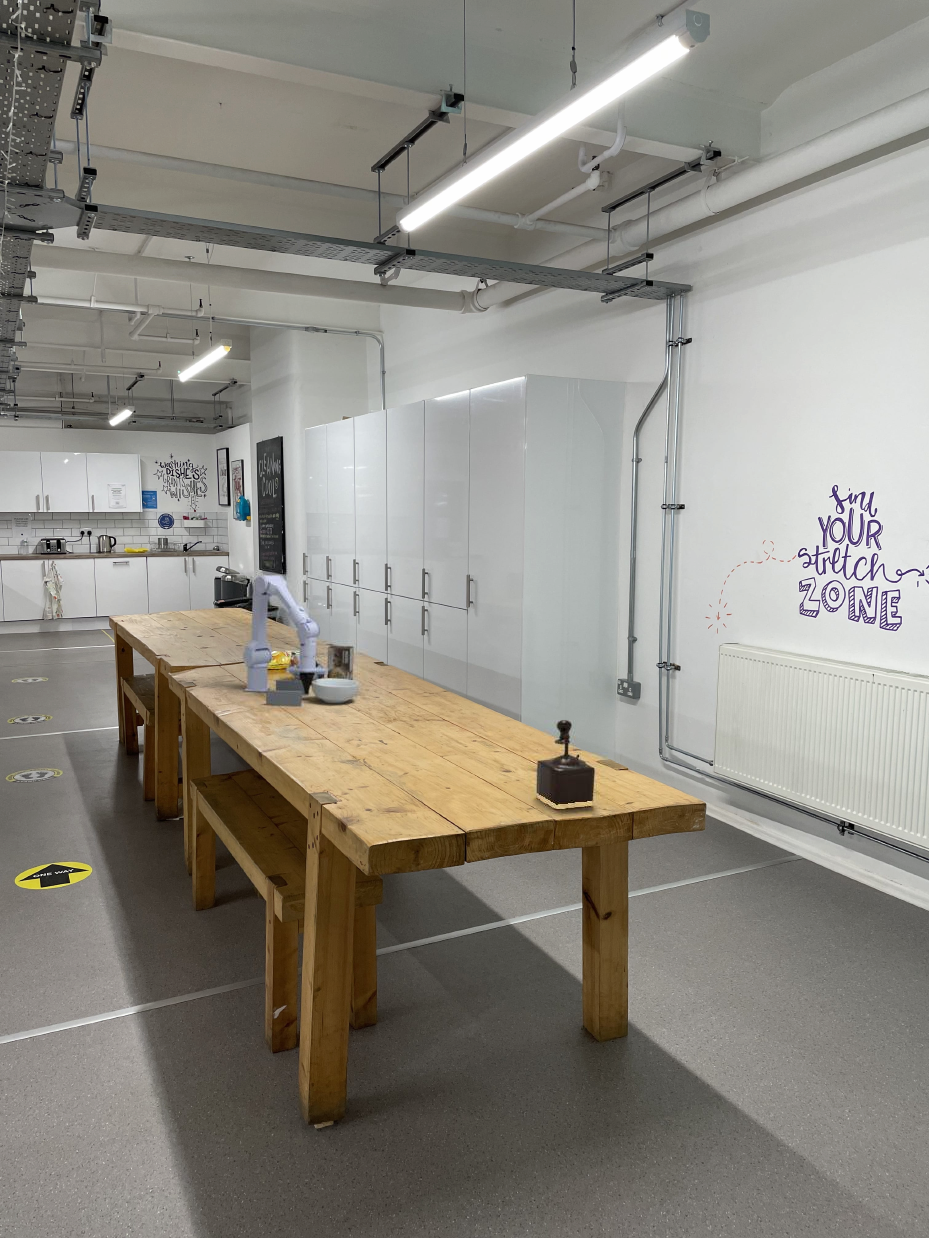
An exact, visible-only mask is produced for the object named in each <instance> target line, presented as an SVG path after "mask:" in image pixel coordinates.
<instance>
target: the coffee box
mask: <svg viewBox="0 0 929 1238" xmlns="http://www.w3.org/2000/svg"><path fill="white" fill-rule="evenodd" d="M354 648H355V647H354V646H350V645H330V646H329V647H327V665H326V666H327V667H326V668H327V669H328V674H327V675H326V678H334V679H347V680H353V681H354Z"/></svg>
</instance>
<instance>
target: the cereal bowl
mask: <svg viewBox="0 0 929 1238" xmlns="http://www.w3.org/2000/svg"><path fill="white" fill-rule="evenodd" d="M359 688H360V682H359V681H356V680H354V679H353V680H347V679H334V678H327V677H325V679H317V680H314V681H312V684H311V690H312V693H313V694H314V696H315V697H317V698H319V699H320V700H322V701H323V702H324V703H327V704H344V703H346V702H347V701H349V700H352V699H354V698H355V697H356V696H357V695H358V693H359V690H360V689H359Z"/></svg>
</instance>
